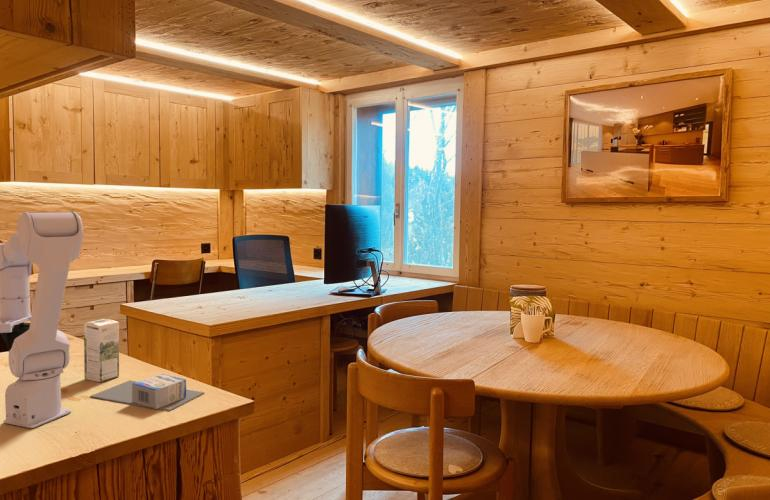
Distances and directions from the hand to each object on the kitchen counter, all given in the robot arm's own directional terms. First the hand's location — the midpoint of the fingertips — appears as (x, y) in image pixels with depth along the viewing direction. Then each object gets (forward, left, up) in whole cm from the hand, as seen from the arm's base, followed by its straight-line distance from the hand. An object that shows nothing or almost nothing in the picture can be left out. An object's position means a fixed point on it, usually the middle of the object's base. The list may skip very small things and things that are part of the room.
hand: (16, 357), depth 129 cm
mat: (+12, -25, -9) cm, 29 cm away
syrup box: (+18, -6, -10) cm, 21 cm away
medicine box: (+6, -29, -7) cm, 31 cm away
